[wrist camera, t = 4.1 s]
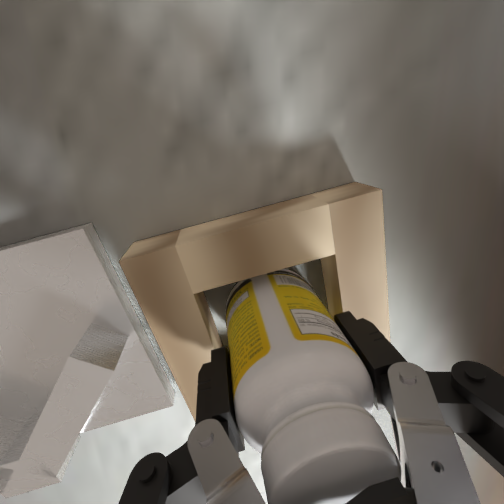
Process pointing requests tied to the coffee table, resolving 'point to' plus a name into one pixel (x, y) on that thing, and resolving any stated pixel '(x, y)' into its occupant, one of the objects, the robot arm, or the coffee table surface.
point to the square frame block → (259, 268)
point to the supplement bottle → (302, 394)
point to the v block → (66, 355)
